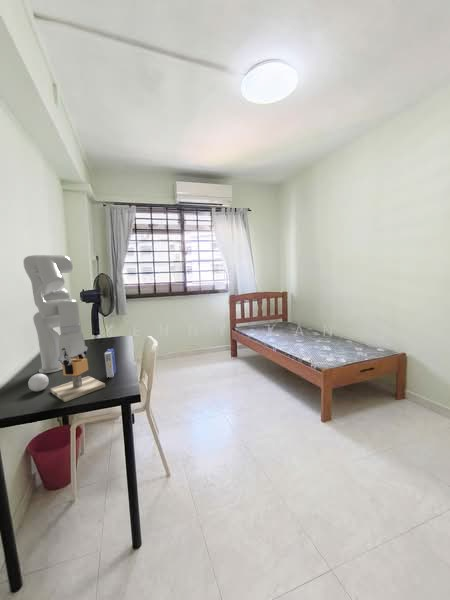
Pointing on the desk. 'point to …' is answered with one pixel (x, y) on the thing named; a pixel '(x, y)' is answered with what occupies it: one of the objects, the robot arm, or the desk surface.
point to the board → (77, 388)
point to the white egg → (38, 382)
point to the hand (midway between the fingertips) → (75, 370)
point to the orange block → (77, 367)
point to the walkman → (110, 362)
